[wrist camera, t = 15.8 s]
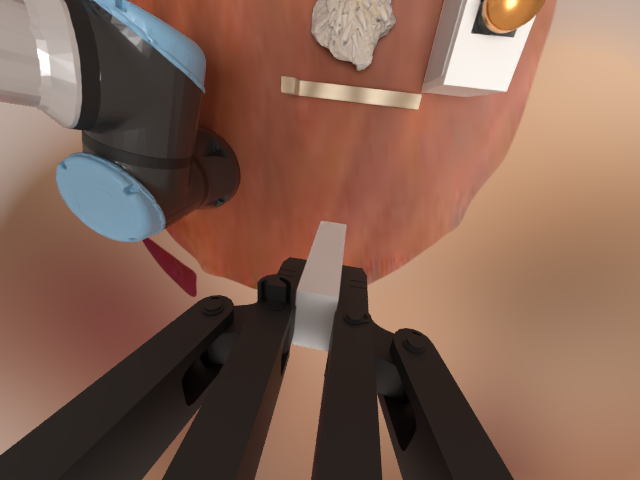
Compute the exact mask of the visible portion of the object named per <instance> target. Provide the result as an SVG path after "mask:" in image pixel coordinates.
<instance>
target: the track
mask: <svg viewBox="0 0 640 480" xmlns="http://www.w3.org/2000/svg"><path fill="white" fill-rule="evenodd" d="M281 92H282V93H286V94H290V95H297V96H305V97H313V98H322V99H330V100H338V101H347V102H355V103H363V104H372V105H380V106H388V107H397V108H405V109H414V110H418V108H419V104H420V100H421V96H422V94H413V93H405V92H396V91H387V90H379V89H370V88H361V87H353V86H344V85H335V84H327V83H318V82H309V81H301V80H299V79H297V78H294V77H285V76H281Z"/></svg>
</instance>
